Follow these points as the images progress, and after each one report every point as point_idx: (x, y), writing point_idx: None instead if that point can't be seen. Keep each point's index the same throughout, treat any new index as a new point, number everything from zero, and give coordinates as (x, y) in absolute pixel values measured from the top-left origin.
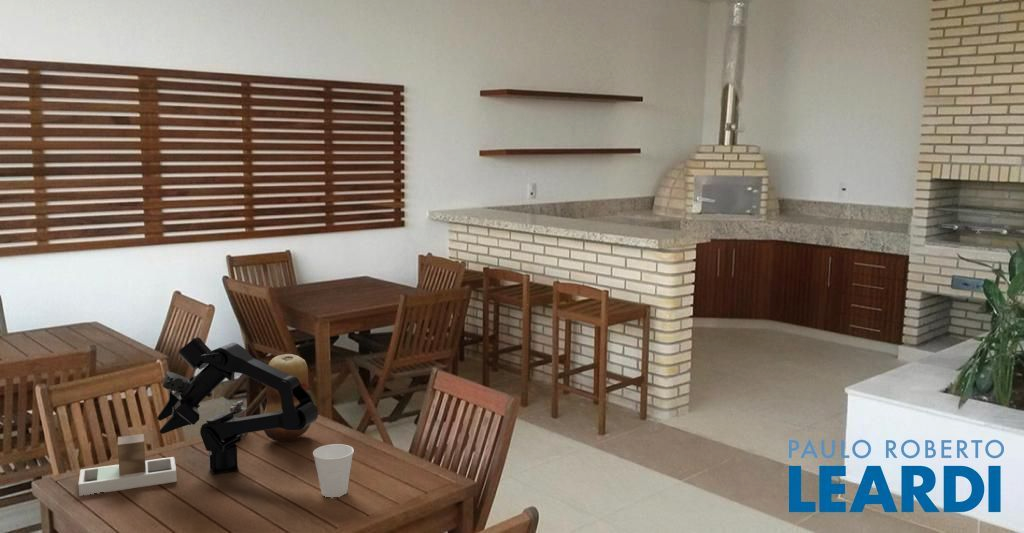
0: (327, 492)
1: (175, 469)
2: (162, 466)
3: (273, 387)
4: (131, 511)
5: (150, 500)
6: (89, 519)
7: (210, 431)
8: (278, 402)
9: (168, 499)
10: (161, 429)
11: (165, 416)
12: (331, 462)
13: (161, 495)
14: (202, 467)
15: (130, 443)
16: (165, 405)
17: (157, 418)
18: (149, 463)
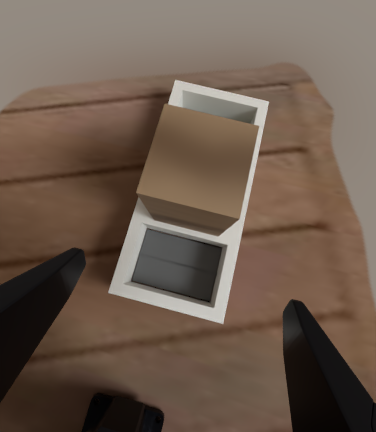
0: None
1: (115, 293)
2: (216, 283)
3: None
4: (26, 159)
5: (52, 205)
6: (49, 91)
7: None
8: None
9: (27, 239)
10: (57, 256)
11: (287, 357)
12: None
13: (61, 232)
14: (171, 384)
15: (151, 145)
16: (363, 416)
17: (291, 301)
18: (225, 250)
